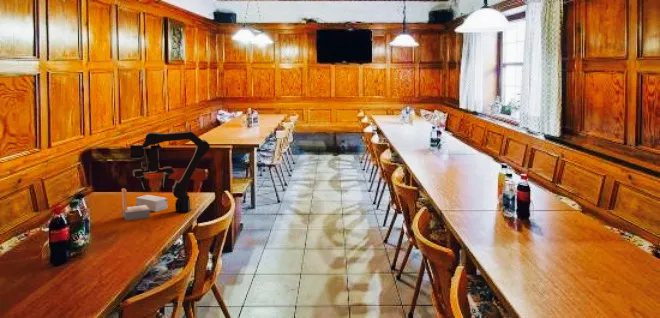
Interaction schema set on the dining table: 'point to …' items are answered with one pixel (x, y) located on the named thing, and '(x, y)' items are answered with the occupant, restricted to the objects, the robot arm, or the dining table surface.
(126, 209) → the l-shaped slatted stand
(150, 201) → the skincare box
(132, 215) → the gray open box
